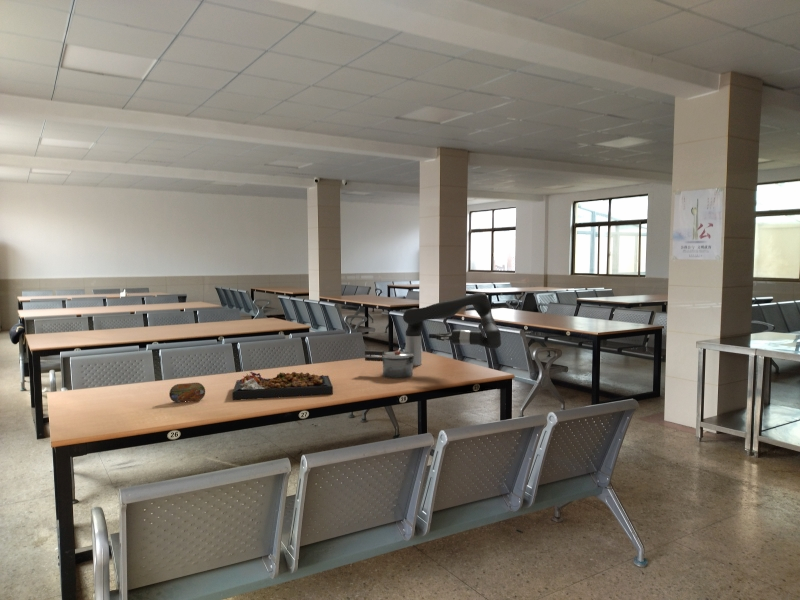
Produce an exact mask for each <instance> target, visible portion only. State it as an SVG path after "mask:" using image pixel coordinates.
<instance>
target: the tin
mask: <svg viewBox="0 0 800 600" xmlns="http://www.w3.org/2000/svg"><path fill="white" fill-rule="evenodd" d="M205 395H206V389H205V386H204V385H203V384H202V383H200V382H187V383H177V384H175V385H173V386H172V387H171V388H170V390H169V398H170V400H171V401H172V402H173V403H176V402H185V401H186V402H185V403H189V402H188V401H196V402H200V401H201V400H203V398H204V397H205Z"/></svg>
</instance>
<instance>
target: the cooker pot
mask: <svg viewBox="0 0 800 600" xmlns="http://www.w3.org/2000/svg"><path fill="white" fill-rule="evenodd" d="M364 361H366V362H382V376H383V377H384V378H387V379H396V380H398V379H407V378H410V377H411V378H412V377H413V376H414V373H413V371H414V369H413V367H414V366H413V363H414V362H415V358H412V359H411V358H406V359H387V358H383V357H382V356H372V355H366V356H365V357H364Z"/></svg>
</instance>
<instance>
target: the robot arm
mask: <svg viewBox="0 0 800 600" xmlns="http://www.w3.org/2000/svg"><path fill="white" fill-rule="evenodd" d="M491 305H492V304H491V302H490V300H489V297H488V295H487V294H486V293H485V292H476V293H472V294H470V295H466V296H463V297H459V298H455V299H451V300H446V301H445V300H444V301H439V302H437V303H434V304H430V305H428V306H425V307H420V308H417V307H412V308H408V309H406V311H404V312H403V316H402V319H403V321H404V323H406V324H407V327H406V329H405V347H404V352H411V353H413V356H414V355H415V357H414V358H415V362H414V363H413V367H414V366H415V367H416V366H422V331H423V326H424V325H423V323H424V321H428V320H440V319H446V318H451V317H454V316H455V315H457V314H458V313H459V312H460V310H462V309H463V308H465V307H467V306H468V307H469V306H473V309H474V311H475V312H476V313H477V315H478V316H479V318H480V319H481V326H482V328H483V331H484V332H483V333H485V335H486V337H485V336H484V335H483V333H482V331H480V330H467V329H453V330H452V332H451V333H450V331H449V332H439V333H428V338H429V339H435V340H438V341H443V342H449V341H451V343H452V345H464V346H466V345H473V346H475V345H477V346H481V347H484V348H487V349H491V350H492V349H493V350H495V349H499V348H500V347H501V345H502V338H501V331H500V329H499V328H498V326H497V323H496V321H495V319H494V317H493V315H492V314H493V313H492V306H491Z"/></svg>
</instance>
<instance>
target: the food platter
mask: <svg viewBox="0 0 800 600" xmlns="http://www.w3.org/2000/svg"><path fill="white" fill-rule="evenodd" d="M261 376H262V374H260V373H256V372H253V371H252V370H250V371H249V374H248V373H246V375H243V378H241V379H238V380H237V379H236V381H235V384H234V387H233V391H232V401H240V400H241V399H246V400H258V399H257V398H263V399H277V398H279V397H280V398H294V397H295V398H296V397H312V396H313V397H314V396H328V395H329V396H330V395H331V396H332V395H333V394H334V389H333V388H334V387H333V384H332V381H331V379H330V376H329V375H323V374H322V375H318V374H315V373H313V374H310V372H306V373H303V372H300V373H297V372H296V371H292V372H291V373H289V372H279V373H278V374H276V376H275V377H272V378H264V377H261ZM241 401H242V400H241Z"/></svg>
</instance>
